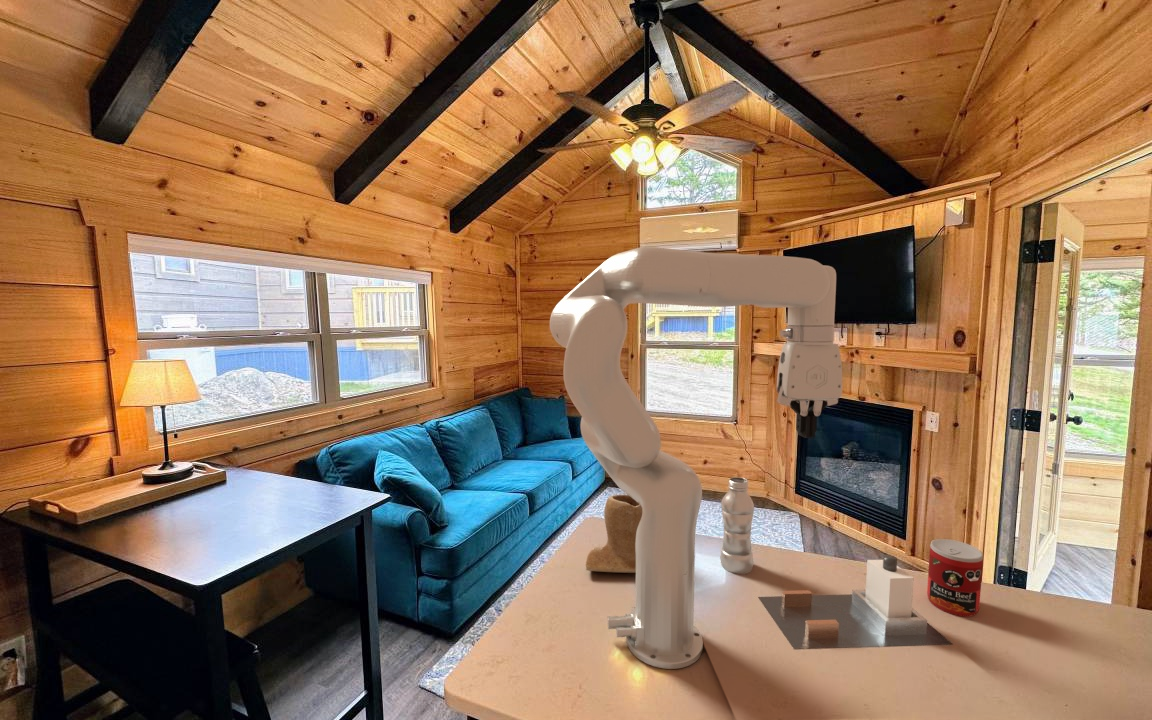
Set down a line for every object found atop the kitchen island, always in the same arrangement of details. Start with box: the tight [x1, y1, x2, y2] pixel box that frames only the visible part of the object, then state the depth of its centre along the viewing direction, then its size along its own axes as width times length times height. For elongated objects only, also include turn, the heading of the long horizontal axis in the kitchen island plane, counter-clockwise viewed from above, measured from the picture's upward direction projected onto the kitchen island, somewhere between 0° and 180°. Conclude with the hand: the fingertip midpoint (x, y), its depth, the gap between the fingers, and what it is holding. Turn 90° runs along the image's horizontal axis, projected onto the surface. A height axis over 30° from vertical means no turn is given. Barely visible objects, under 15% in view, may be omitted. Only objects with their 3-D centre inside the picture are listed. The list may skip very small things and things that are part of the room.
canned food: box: [926, 538, 984, 617], centre depth 88 cm, size 8×8×11 cm
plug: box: [865, 554, 914, 618], centre depth 82 cm, size 4×6×11 cm, turn 2°
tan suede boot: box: [585, 494, 642, 574], centre depth 103 cm, size 15×12×15 cm
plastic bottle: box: [719, 476, 755, 575], centre depth 99 cm, size 6×7×20 cm
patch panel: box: [757, 588, 954, 650], centre depth 83 cm, size 26×14×4 cm, turn 92°
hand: (805, 435), depth 87 cm, fingers closed
